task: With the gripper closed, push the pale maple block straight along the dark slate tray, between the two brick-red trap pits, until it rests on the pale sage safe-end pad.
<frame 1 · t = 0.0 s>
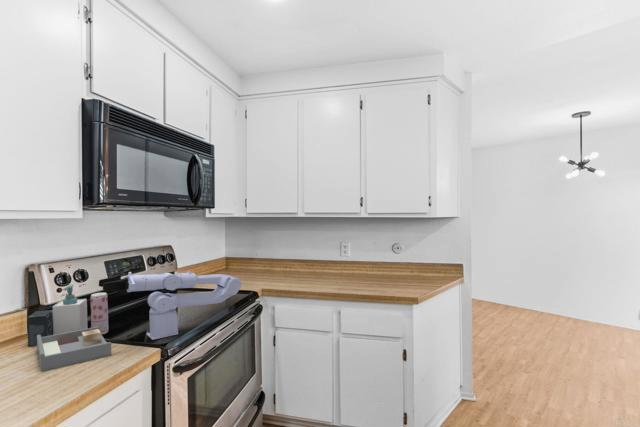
hand: (100, 284, 129), 22 cm above the worktop, tool horizontal, fingers open, 7 cm apart
box: (41, 342, 136), on the worktop
beverage can: (100, 333, 145), on the worktop
maple block: (91, 342, 129), point 2 cm above the worktop, touching trap tray
trap tray: (74, 352, 126), on the worktop
soap bottle: (71, 336, 141), on the worktop
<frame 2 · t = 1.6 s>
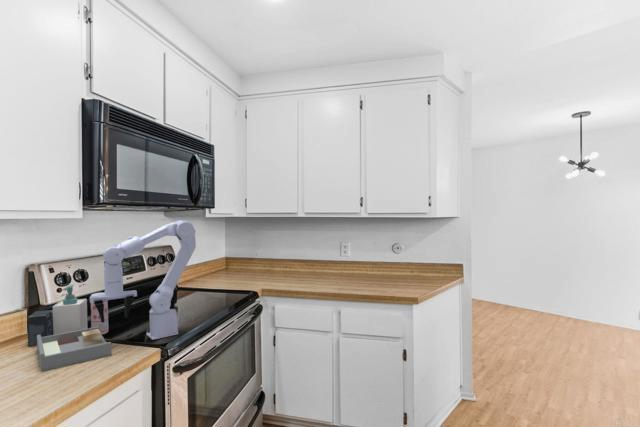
hand: (114, 319, 133), 8 cm above the worktop, tool pointing down, fingers open, 7 cm apart
nothing on the worktop moved.
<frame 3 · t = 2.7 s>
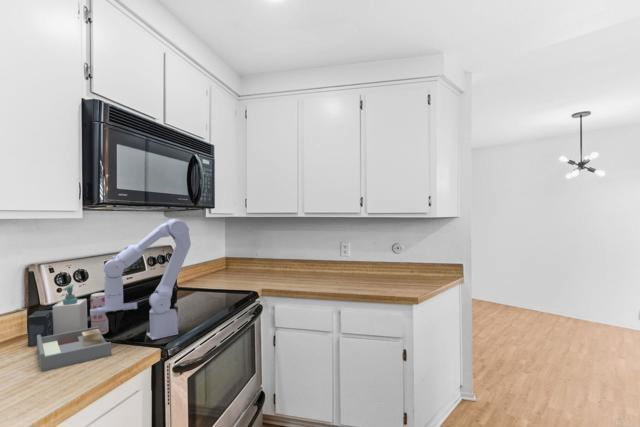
hand: (114, 332, 134), 4 cm above the worktop, tool pointing down, fingers closed
nothing on the worktop moved.
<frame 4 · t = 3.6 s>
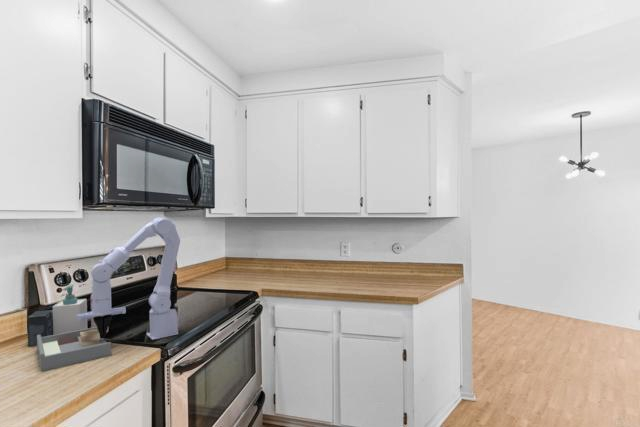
hand: (102, 337, 131), 3 cm above the worktop, tool pointing down, fingers closed
maple block: (89, 342, 129), point 2 cm above the worktop, touching gripper
everything else where it was.
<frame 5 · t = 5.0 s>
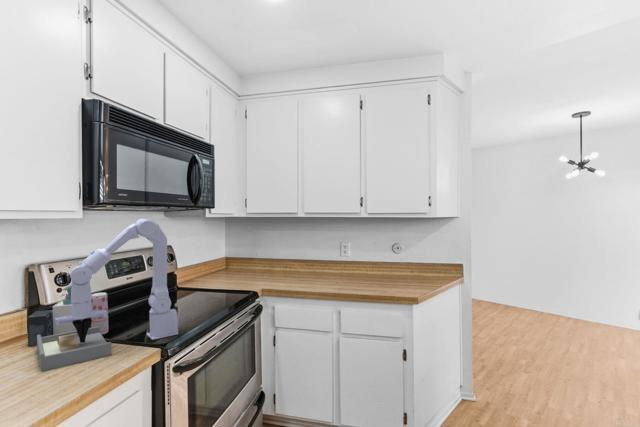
hand: (82, 341, 127), 3 cm above the worktop, tool pointing down, fingers closed
maple block: (68, 347, 125), point 2 cm above the worktop, touching gripper
everything else where it was.
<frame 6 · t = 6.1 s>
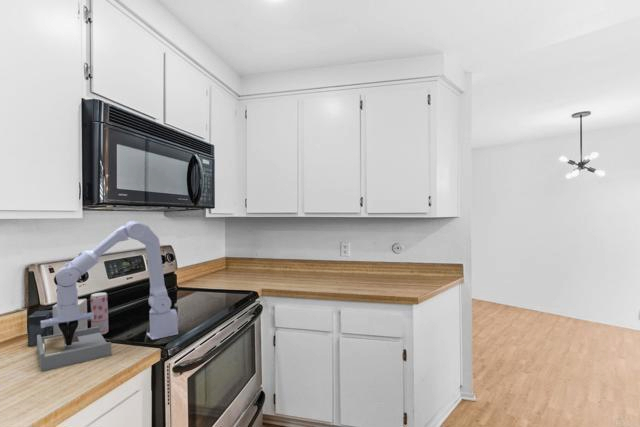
hand: (68, 344, 125), 3 cm above the worktop, tool pointing down, fingers closed
maple block: (54, 350, 122), point 2 cm above the worktop, touching gripper, trap tray
everything else where it was.
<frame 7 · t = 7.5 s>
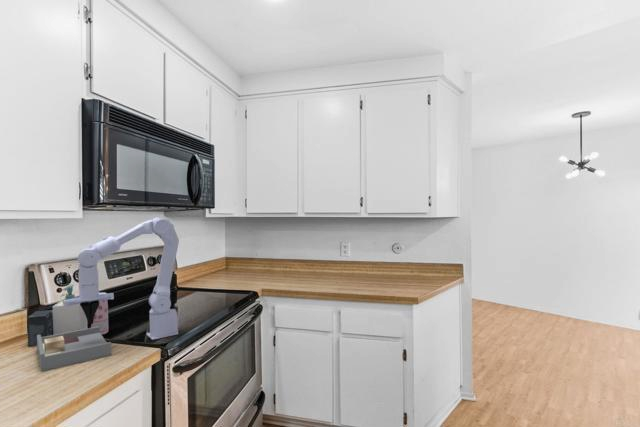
hand: (90, 323, 129), 8 cm above the worktop, tool pointing down, fingers closed
maple block: (54, 350, 122), point 2 cm above the worktop, touching trap tray
everything else where it was.
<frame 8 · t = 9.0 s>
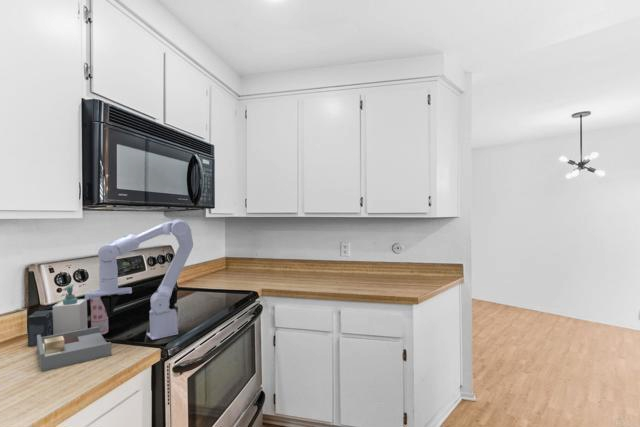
hand: (109, 316, 134), 9 cm above the worktop, tool pointing down, fingers closed
nothing on the worktop moved.
at the end: maple block 0.4 cm from the target spot on the trap tray, point 2.0 cm above the trap tray's base; maple block tilted 0° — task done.
